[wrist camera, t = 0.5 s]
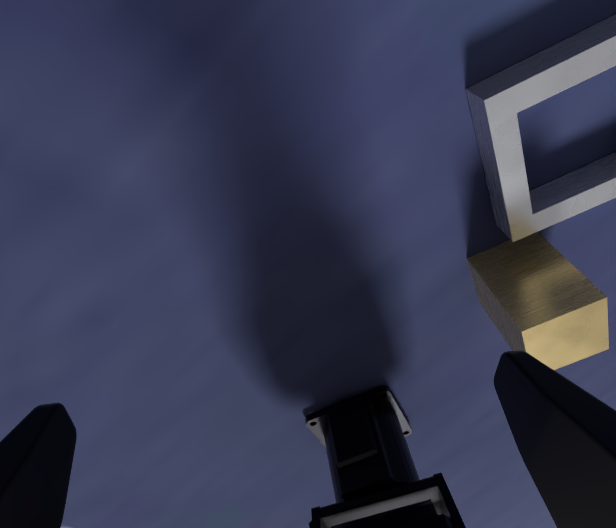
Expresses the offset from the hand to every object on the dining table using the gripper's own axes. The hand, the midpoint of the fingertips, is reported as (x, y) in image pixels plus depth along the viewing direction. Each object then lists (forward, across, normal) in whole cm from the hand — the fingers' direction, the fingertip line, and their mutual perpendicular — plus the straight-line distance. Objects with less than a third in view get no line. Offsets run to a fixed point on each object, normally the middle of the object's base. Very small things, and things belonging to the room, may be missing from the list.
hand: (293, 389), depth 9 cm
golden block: (+14, -14, +8) cm, 21 cm away
